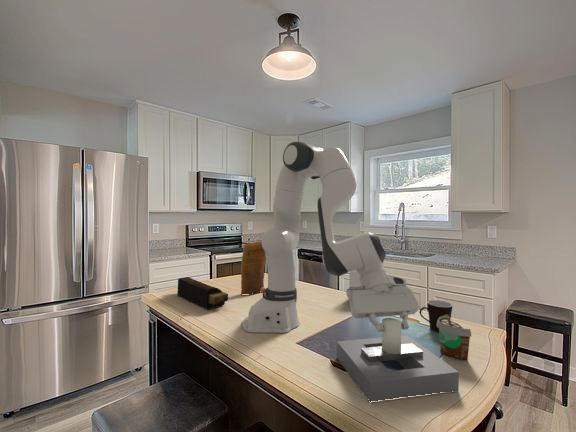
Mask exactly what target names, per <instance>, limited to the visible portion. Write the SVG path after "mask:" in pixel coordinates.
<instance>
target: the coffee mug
mask: <svg viewBox="0 0 576 432" xmlns="http://www.w3.org/2000/svg"><path fill="white" fill-rule="evenodd" d="M426 305H427V307H426V306H423V307H421V308H420V309H419V312H418V313H419V315H420V317H422V319H424V320H425V321H426V322H428V323H429V329H430V330H431V331H433V332H435V333H439V328H438V327H437V321H438V319H439V317H442V316H447V319H449V320H450V321H451V319H452V312H453V311H452V310H453V306H454V305H453V304H452V303H450V302H449V301H445V300H440V299H431V300H428V301H426ZM425 309H426V310H427V311H428V312H427V313H428V318H426V317H424V315H423V314H422V312H423V310H425Z"/></svg>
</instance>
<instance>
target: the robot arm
mask: <svg viewBox="0 0 576 432" xmlns="http://www.w3.org/2000/svg"><path fill="white" fill-rule="evenodd" d="M282 162H283V165H282V167H280V171H279V174H278V177H277V182H276V186H275V191H274V198H273V205H272V212H273V220H274V221H273V227H270V228H269V229H267V231H265V232H264V234H263V235H262V237H261V241H262V247H263V249H264V251H265V256H266V264H267V287H266V288H265V286H264V287H262V288H261V292H260V293H262V298H260V299H259V300H258V301H256V302H255V303H254V304H253V305H251V306H250V309H249V311H248V316H246V317H244V319H243V320H242V329H243V330H244V331H245V332H247V333H265V334H266V333H272V334H275V333H276V334H277V333H280V334H282V333H287V334H288V333H289V332H290V331H291V330H293V329H295V328H297V327H299V325H300V320H299V316H298V310H297V300H298V290H297V288H296V282H297V281H296V279H297V278H296V277H297V275H296V273H297V272H296V271H297V270H296V266H295V262H294V254H293V250H295V249H296V247H297V246H298V245H299V242H300V231H301V213H302V212H301V211H302V205H303V197H304V192H305V185H306V182H307V180H309V179H311V180H317V179H319V180H320V183H321V185H322V191H321V195H320V196H319V198H318V199H317V216H318V223H319V230H320V231H319V232H320V233H319V234H320V240H321V247H322V248H321V249H322V251H321V252H322V253H321V254H322V263H323V266H324V268H325V270H326V272H327V273H329V274H331V275H333V276H336V277H340V276H343V275H345V274H346V275H347V274H348V273H350V271H353V270H356V271H357V272H358V274H359V280H360V283H361V286H359V287H350V288H347V290H346V292H345V293H346V296H347V297H346V298H347V300H348V301H350V302H349V307H350V312H351V313H350V314H351V315H352V317H354V318H355V319H365V318H366V319H367V318H368V321H369V323H371V324H372V325H373V326H374V327H375V330H376V332H377V333H379V332H380V333H382V331H383V330H384V327H383V324H382V322H379V321H378V320H377V319H376V318H379V317H393V316H394V317H395V316H399V318H400V319H402V321H401V331H403V330H409V328H410V326H409V323H408V319H409V317H408V316H411V315H415V314H416V313H417V312H418V311H419V310H420V309H419V308H420V304H419V302H418V300H417V298H416V296H415V294H414V292H413V291H412V289H411V288H410V287H409V286H407V285H408V282H407V279H405V278H403V277H398V276H394V275H391V274H390V273H388V272H387V270H386V269H385V268H384V265H383V263H384V262H385V259H386V257H387V256H386V255H387V254H386V250H385V249H384V248H383V245H382V243H381V240H380V237H379V235H377V234H374V233H372V232H368V231H367V232H364V233H361V234H357V235H354V236H352V237H349V238H347V239H344V240H339V241H335V235H334V229H333V228H334V227H333V217H334V215H335V214H336V213H337V211H339V209H341V208H342V207H343V206H344V205H346V204H347V203H348V202H349V201H350V200H351V199H352V198H353V196H354V195H355V193H356V191H357V187H358V186H357V181H356V177H355V174H354V171H353V169H352V167H351V164H350V162H349V161H348V159H347V157H346V156H345V154H344V152H343V151H342V150H341V149H340V148H338V147H336V146H329V147H326V148H322V147H319V146H317V145H313V144H308V143H305V142H302V141H292V142H290V143H289V144H287V145H286V147H285V149H284V150H283V154H282Z"/></svg>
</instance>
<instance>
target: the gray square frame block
mask: <svg viewBox="0 0 576 432" xmlns="http://www.w3.org/2000/svg"><path fill="white" fill-rule="evenodd" d="M401 344H414V345H415V346H416V347H418V348H419V349H420V350H422V351H423V357H417V358H407V359H397V360H395V361H396V362H397V363H398V364H399V365H400V366H401V367H403V369H399V370H389V369H388V368H387V367H386V366H385V365H384V364H383V362H382V361H378V362H369V361H368V360H367V359H366V358H365V357H364V356H363V355H362V354H361V348H368V347H379V346H382V337H372V338H362V339H359V338H358V339H348V340H339V341H336V358H337V360H338V361H339V363H340V364H341V365H342V366H343V368H344V369H345V371H346V372H347V374H348V375H349V376H350V378H351V379H352V380H353V382H354V383H355V385H356V386H357V387H358V389H359V388H360V389H359V391H361V393H362V392H363V393H364V394H363V393H362V394H363V395H364V397H365V396H366V397H367V398H368V399H369V401H370V402H371V401H378V400H385V399H393V398H399V397H408V396H416V395H425V394H432V393H440V392H452V391H459V388H460V386H459V384H460V383H459V382H460V379H459V377H460V371H458V370H457V369H455V368H454V367H453V366H451V365H450V364H448V363H447V362H446V361H444V360H442V359H441V358H440V357H438V356H437V355H435V354H434V353H433V352H432V351H430V350H428V349H427V348H426V347H424V346H423V345H421V344H420V343H419V342H417V341H416V340H414V339H413V338H412V337H410V336H409V335H401ZM452 393H453V392H452ZM366 397H365V398H366ZM367 398H366V399H367ZM369 401H368V402H369ZM370 402H369V403H370Z"/></svg>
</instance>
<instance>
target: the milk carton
mask: <svg viewBox="0 0 576 432" xmlns="http://www.w3.org/2000/svg"><path fill="white" fill-rule="evenodd" d="M359 286H361V283H360V280H359V274H358V272H357V271H356V270H353V271H350V272H349V288H350V287H359ZM349 288H348V289H349ZM348 301H349V300H348ZM349 303H350V301H349Z"/></svg>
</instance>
